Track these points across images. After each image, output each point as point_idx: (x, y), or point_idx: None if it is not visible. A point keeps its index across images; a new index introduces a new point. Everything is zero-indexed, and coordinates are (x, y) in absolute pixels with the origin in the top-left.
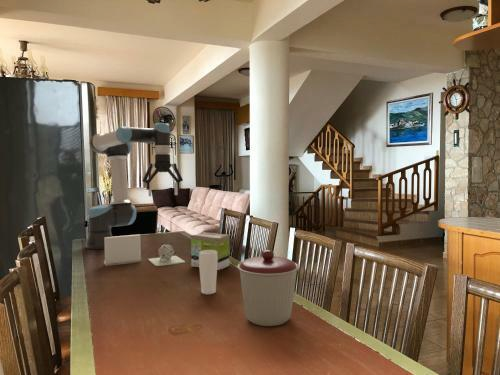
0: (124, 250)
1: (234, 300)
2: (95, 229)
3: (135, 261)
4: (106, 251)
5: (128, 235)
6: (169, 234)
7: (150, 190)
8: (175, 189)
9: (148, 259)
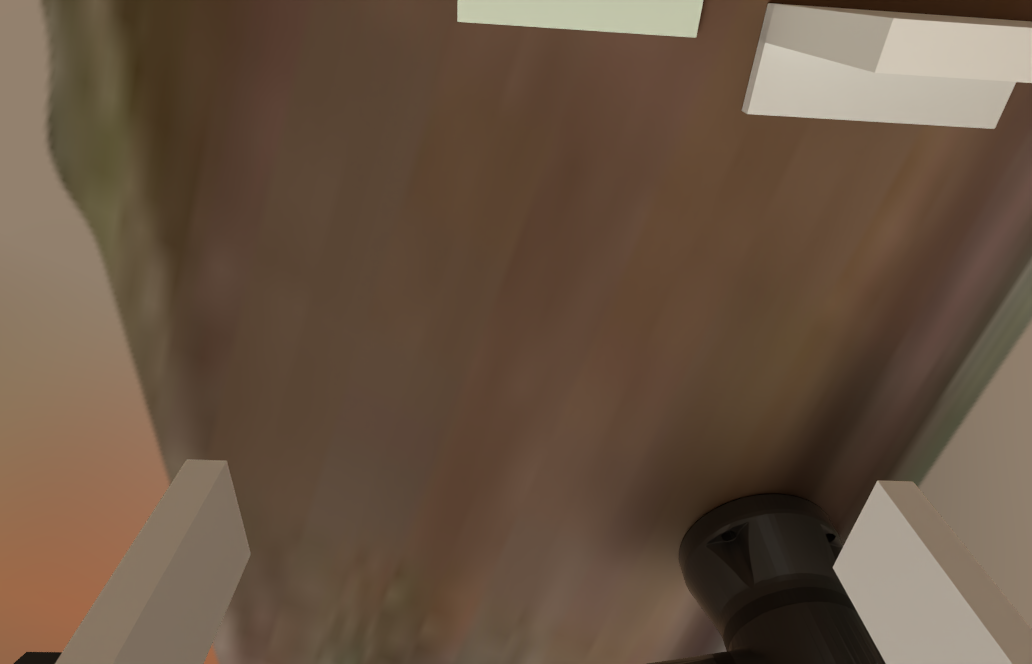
0: (964, 19)
1: None
2: (856, 617)
3: (814, 6)
4: None
5: (1000, 69)
6: (309, 650)
7: (999, 613)
8: (168, 641)
9: (697, 27)
